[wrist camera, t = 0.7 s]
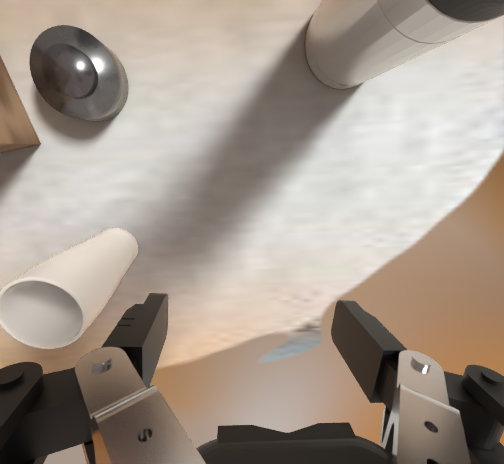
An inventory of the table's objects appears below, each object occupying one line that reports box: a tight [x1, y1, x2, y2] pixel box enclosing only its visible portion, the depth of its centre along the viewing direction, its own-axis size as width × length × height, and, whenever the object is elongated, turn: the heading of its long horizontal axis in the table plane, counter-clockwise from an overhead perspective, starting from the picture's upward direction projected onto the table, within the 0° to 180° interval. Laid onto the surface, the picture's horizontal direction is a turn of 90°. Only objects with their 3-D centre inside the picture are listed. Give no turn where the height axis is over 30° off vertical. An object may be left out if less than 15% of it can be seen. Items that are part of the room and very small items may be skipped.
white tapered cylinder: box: [0, 228, 138, 349], centre depth 27 cm, size 7×7×15 cm
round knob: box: [30, 25, 128, 121], centre depth 26 cm, size 8×8×4 cm
